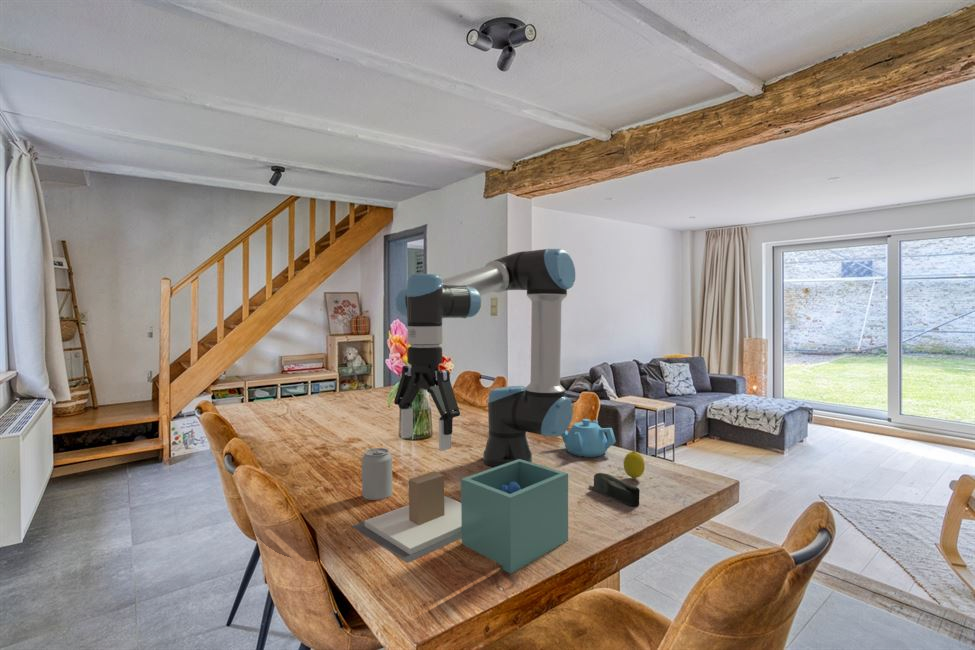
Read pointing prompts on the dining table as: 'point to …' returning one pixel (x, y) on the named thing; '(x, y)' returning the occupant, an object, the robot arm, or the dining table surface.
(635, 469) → the lemon
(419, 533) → the lid
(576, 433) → the teapot
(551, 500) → the teal storage bin
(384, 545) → the mat
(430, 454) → the dining table surface
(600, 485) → the mobile phone
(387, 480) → the can
